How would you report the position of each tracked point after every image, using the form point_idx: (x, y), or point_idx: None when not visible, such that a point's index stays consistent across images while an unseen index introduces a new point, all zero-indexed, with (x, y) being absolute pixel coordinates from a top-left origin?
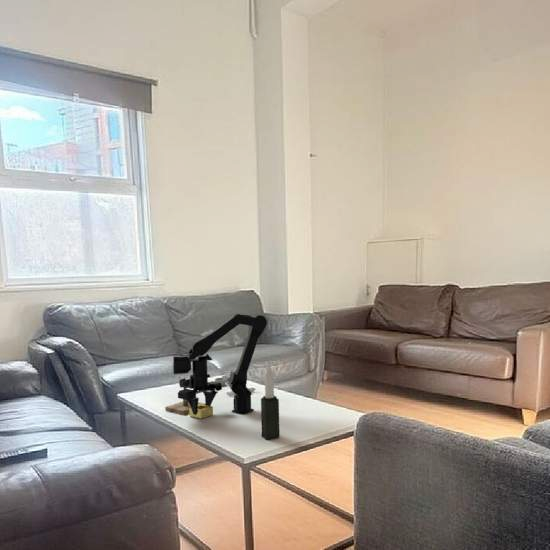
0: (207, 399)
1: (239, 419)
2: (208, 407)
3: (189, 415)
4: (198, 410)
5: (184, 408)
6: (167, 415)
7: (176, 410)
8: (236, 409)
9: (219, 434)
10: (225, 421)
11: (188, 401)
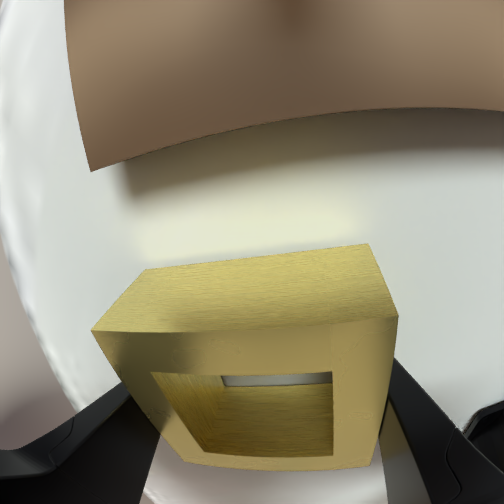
0: (405, 495)
1: (368, 485)
2: (312, 465)
3: (143, 273)
4: (171, 442)
5: (163, 28)
6: (22, 63)
7: (74, 25)
8: (477, 445)
9: (183, 493)
10: (301, 478)
11: (22, 456)
